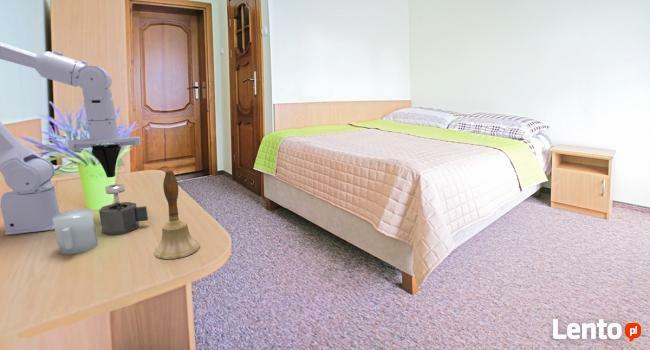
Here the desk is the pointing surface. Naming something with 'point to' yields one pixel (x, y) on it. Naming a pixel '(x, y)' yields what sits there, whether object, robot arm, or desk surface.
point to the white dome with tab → (75, 231)
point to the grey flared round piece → (115, 192)
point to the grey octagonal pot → (121, 218)
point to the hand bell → (174, 226)
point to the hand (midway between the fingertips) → (111, 176)
